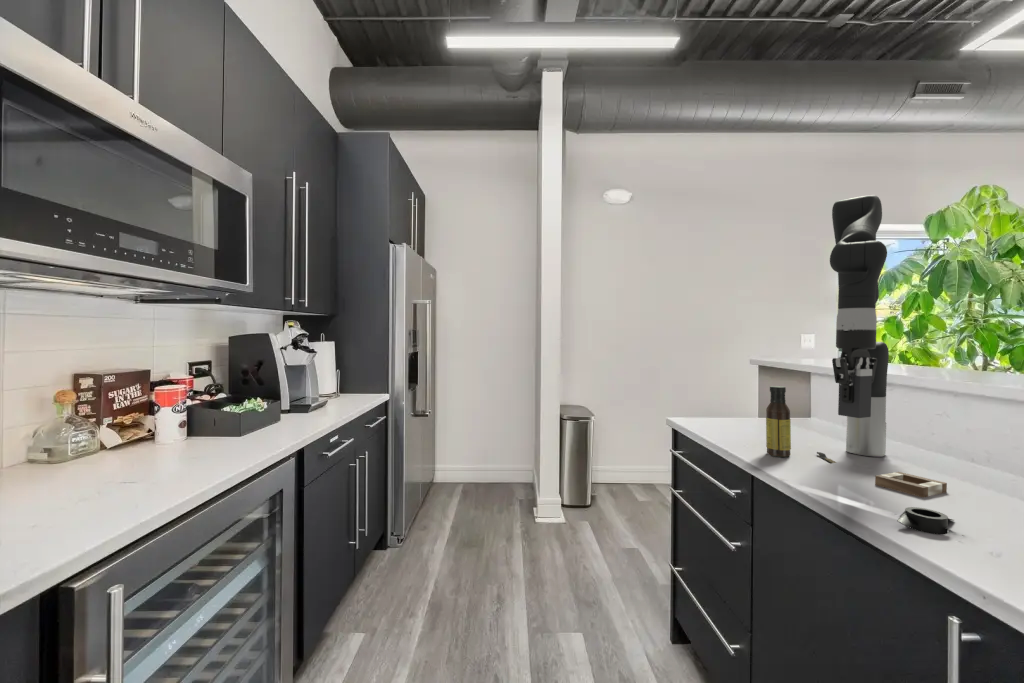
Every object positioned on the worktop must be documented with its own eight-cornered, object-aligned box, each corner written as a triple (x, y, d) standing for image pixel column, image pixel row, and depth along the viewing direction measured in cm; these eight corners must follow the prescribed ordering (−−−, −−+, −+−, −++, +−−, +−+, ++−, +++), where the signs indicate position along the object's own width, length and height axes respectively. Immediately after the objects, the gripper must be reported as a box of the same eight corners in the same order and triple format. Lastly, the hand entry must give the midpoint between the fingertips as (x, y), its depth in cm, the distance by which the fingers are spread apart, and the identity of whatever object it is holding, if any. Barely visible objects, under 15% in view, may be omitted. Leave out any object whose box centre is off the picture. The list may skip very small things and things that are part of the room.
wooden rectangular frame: (898, 484, 110) (898, 471, 110) (946, 496, 101) (946, 482, 101) (875, 489, 106) (875, 475, 106) (923, 502, 98) (923, 487, 98)
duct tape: (883, 517, 90) (884, 502, 90) (950, 525, 86) (950, 509, 86) (900, 532, 83) (900, 516, 83) (973, 542, 79) (973, 525, 79)
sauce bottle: (790, 454, 137) (792, 386, 137) (790, 458, 132) (792, 388, 132) (765, 451, 140) (767, 384, 140) (764, 455, 135) (766, 386, 135)
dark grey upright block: (849, 413, 112) (850, 367, 112) (871, 416, 108) (872, 369, 108) (837, 414, 110) (838, 368, 110) (859, 418, 106) (860, 369, 106)
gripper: (856, 329, 115) (854, 398, 115) (820, 327, 109) (818, 401, 109) (891, 328, 108) (889, 402, 109) (855, 327, 102) (853, 405, 102)
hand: (854, 401), depth 109 cm, fingers closed on dark grey upright block, 4 cm apart
